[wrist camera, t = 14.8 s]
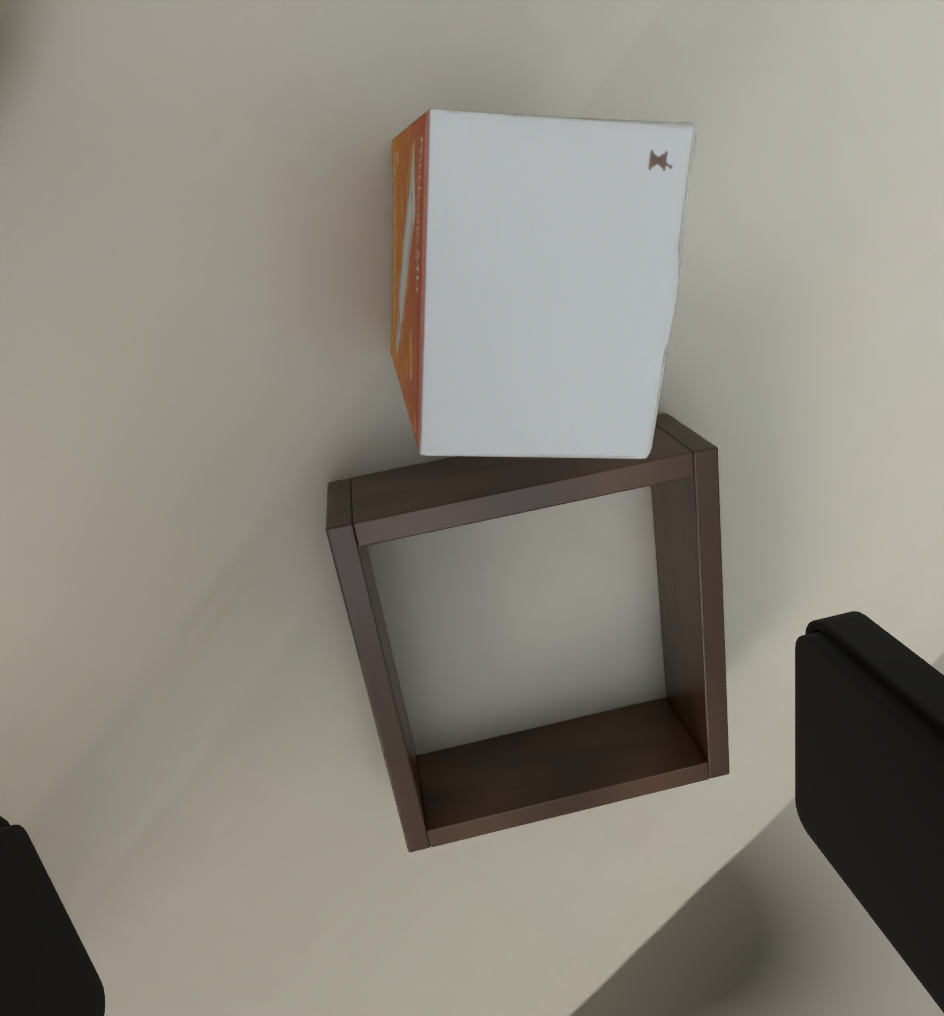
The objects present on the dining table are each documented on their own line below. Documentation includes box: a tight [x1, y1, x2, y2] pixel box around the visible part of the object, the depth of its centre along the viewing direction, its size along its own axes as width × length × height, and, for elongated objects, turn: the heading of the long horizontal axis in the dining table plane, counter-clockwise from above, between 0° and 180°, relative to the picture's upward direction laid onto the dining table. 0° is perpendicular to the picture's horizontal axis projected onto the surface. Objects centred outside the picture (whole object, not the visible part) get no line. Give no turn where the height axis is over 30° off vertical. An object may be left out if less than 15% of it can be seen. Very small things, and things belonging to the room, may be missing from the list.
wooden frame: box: [326, 414, 729, 852], centre depth 34 cm, size 15×16×5 cm
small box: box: [391, 109, 696, 459], centre depth 24 cm, size 8×6×13 cm
